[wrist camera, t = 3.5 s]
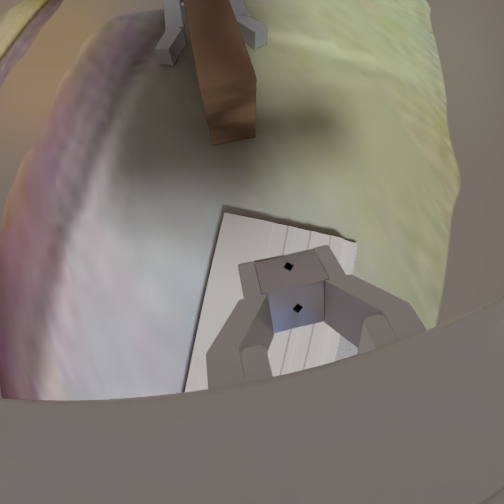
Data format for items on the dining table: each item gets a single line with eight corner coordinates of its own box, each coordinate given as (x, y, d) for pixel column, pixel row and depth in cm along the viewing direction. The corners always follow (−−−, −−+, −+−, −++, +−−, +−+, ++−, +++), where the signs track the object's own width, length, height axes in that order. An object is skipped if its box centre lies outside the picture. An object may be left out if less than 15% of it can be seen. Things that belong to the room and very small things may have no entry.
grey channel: (160, 68, 26) (151, 46, 23) (156, 3, 28) (150, -16, 25) (268, 47, 27) (269, 24, 23) (241, -14, 29) (241, -33, 25)
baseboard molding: (370, 249, 24) (225, 217, 25) (383, 242, 21) (222, 207, 22) (282, 547, 20) (164, 526, 20) (284, 564, 17) (157, 542, 17)
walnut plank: (213, 145, 25) (199, 88, 17) (195, 52, 27) (183, -4, 19) (255, 137, 25) (256, 78, 17) (229, 46, 27) (224, -12, 19)
